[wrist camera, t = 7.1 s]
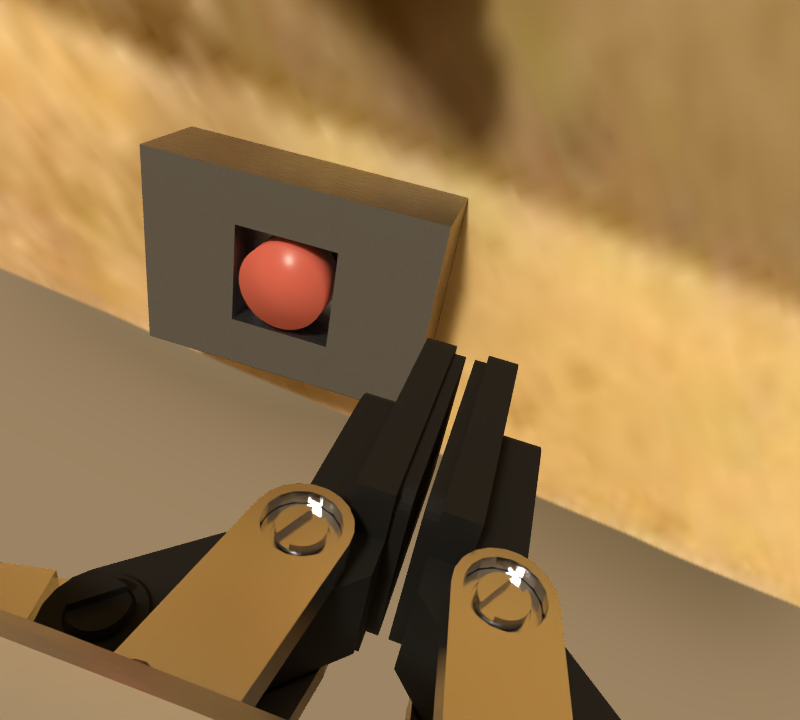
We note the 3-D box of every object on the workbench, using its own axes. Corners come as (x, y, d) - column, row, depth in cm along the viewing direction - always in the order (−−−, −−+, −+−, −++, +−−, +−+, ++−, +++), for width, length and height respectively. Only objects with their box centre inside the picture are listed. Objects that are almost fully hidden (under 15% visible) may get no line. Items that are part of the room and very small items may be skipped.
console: (468, 198, 41) (451, 226, 36) (426, 370, 48) (407, 414, 43) (191, 126, 43) (139, 144, 38) (193, 301, 51) (150, 335, 46)
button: (344, 243, 41) (328, 259, 39) (333, 320, 44) (318, 340, 42) (261, 220, 42) (240, 234, 40) (256, 297, 45) (237, 315, 43)
